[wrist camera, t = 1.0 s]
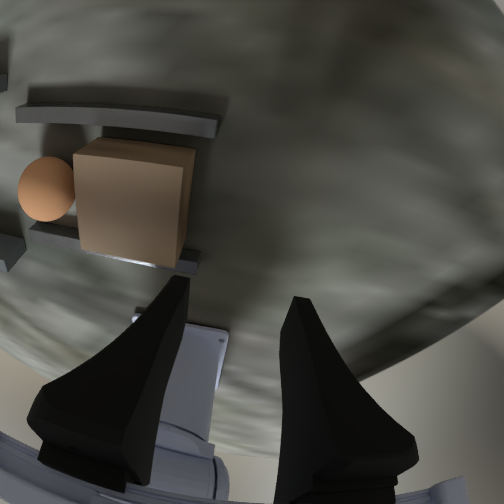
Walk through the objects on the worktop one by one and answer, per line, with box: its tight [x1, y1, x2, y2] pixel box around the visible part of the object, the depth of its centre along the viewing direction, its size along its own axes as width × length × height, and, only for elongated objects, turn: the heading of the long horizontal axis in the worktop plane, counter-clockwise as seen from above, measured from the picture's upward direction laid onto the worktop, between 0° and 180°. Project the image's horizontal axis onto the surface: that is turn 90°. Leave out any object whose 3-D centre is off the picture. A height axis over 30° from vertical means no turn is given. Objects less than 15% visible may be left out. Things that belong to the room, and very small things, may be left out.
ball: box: [18, 157, 75, 221], centre depth 17 cm, size 4×4×4 cm
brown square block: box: [73, 137, 196, 268], centre depth 17 cm, size 6×6×3 cm
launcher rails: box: [16, 103, 220, 275], centre depth 18 cm, size 10×13×1 cm
